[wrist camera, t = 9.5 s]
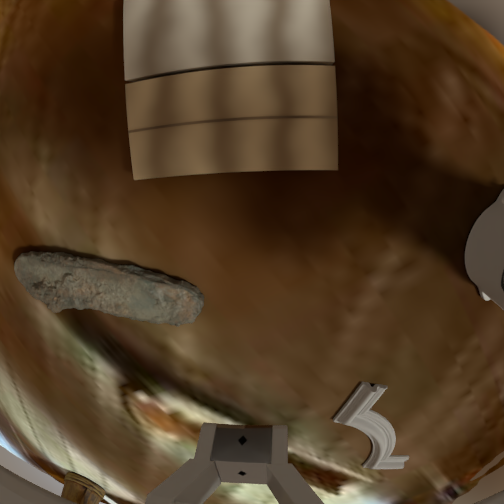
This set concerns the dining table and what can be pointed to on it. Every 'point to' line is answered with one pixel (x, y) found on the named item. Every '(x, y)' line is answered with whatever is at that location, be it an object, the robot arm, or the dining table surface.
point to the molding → (372, 426)
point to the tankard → (81, 490)
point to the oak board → (234, 121)
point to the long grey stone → (107, 288)
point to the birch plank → (223, 35)
